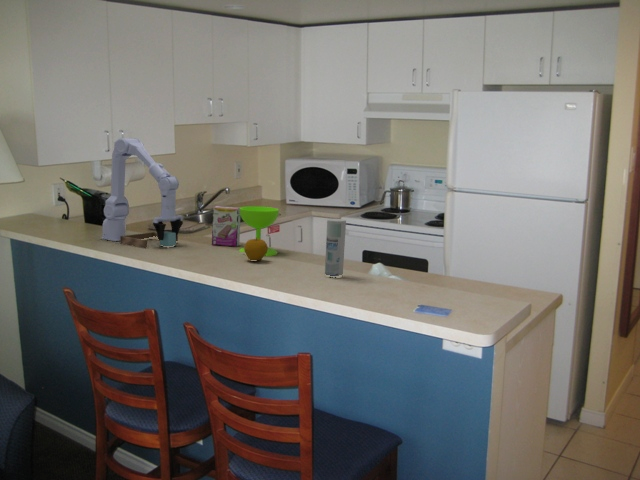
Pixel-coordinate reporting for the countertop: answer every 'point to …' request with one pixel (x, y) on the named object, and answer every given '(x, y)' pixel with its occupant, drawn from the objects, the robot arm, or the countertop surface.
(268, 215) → the wineglass
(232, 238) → the candy bar box
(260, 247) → the apple
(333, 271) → the spray can
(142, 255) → the countertop surface
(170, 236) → the teal block
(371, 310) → the countertop surface
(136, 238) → the walnut crate
